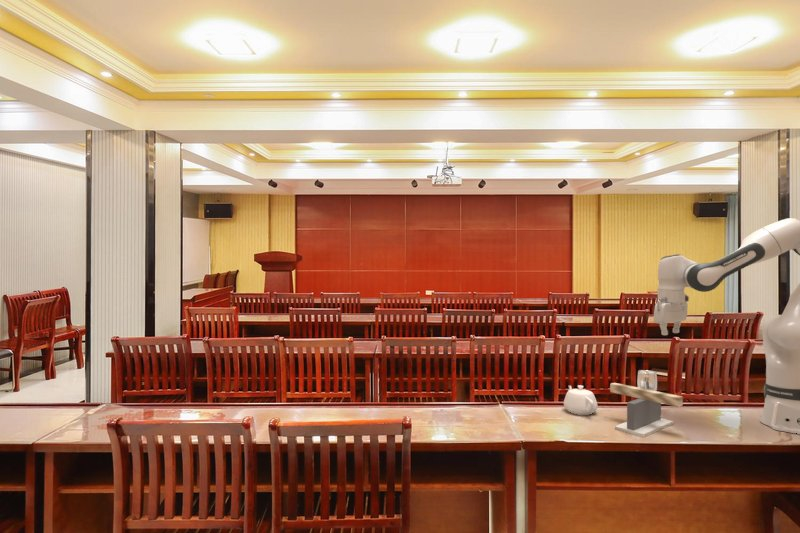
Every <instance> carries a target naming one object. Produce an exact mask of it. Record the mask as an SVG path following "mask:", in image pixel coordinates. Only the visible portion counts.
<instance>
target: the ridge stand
mask: <svg viewBox="0 0 800 533" xmlns="http://www.w3.org/2000/svg"><path fill="white" fill-rule="evenodd" d="M626 403H627V404H626V421H625V422H622V423H619V424H617V425H614V430H616V431H620V432H624V433H627V434H631V435H634V436H638V437H641V438H645V437H648V436H649V435H652V434H654V433H657V432H658V431H661V430H663V429H665V428H668V427H670V426H672V425H674V421H673V420H669V419H665V418H662V403H658V402H654V401H649V400H644V399H640V398H635V399H634V400H630V401H628V402H626Z"/></svg>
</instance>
